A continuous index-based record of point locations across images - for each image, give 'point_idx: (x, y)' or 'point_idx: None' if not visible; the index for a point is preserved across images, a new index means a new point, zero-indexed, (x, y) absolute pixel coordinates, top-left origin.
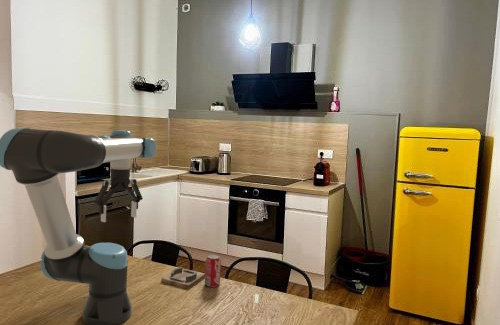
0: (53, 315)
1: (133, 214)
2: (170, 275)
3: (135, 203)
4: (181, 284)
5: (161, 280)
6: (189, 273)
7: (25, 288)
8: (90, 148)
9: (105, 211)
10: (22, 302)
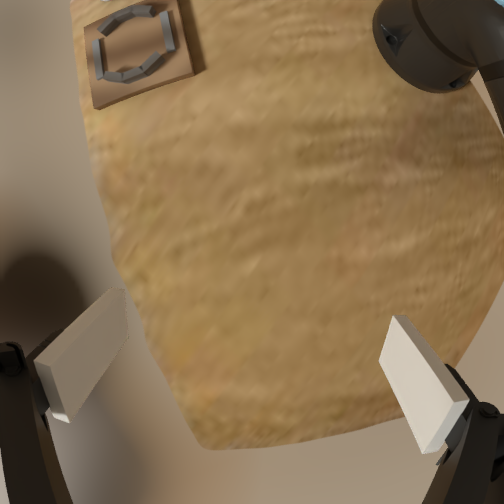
0: (491, 143)
1: (116, 318)
2: (156, 72)
3: (52, 358)
4: (179, 10)
5: (194, 73)
6: (107, 51)
7: (456, 317)
8: None
9: (435, 365)
10: (494, 252)
